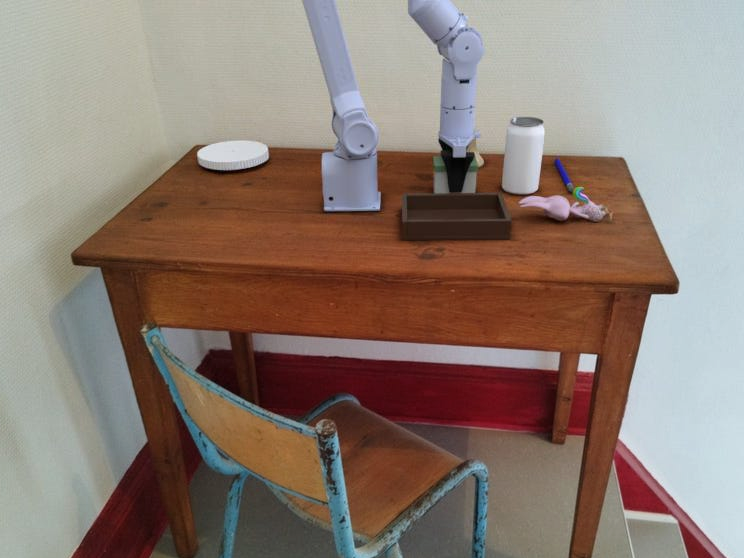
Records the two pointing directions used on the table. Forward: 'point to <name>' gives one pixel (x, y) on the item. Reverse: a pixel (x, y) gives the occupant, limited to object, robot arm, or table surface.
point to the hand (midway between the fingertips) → (454, 185)
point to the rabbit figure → (567, 206)
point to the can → (523, 155)
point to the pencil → (564, 175)
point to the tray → (455, 216)
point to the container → (442, 181)
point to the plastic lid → (233, 155)
